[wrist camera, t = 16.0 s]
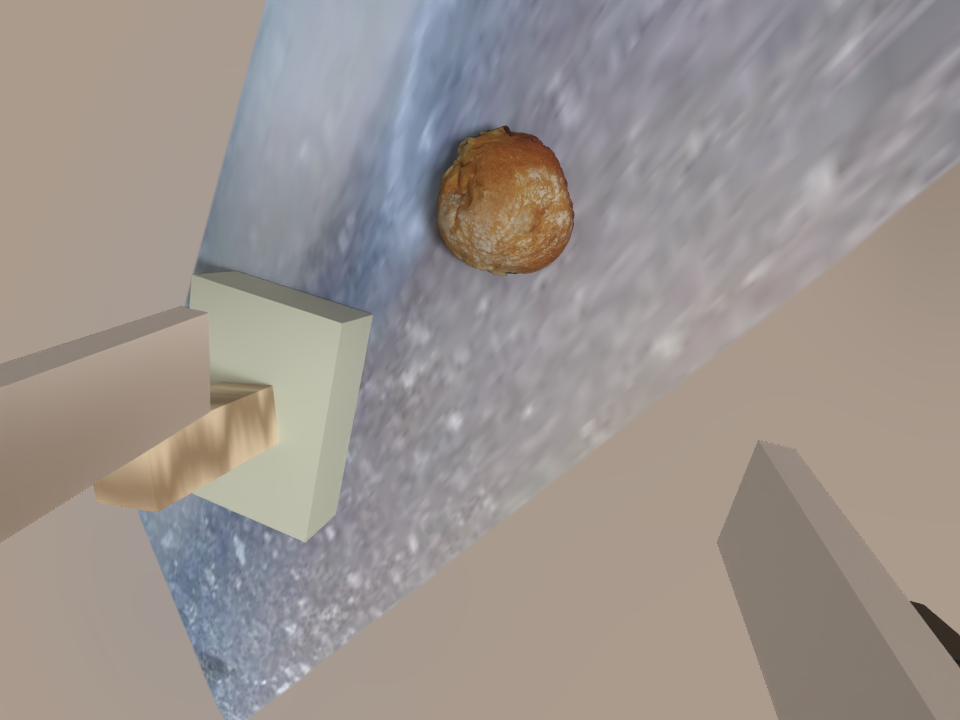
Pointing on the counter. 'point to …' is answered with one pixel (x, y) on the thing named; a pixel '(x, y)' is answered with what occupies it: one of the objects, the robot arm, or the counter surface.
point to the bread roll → (505, 204)
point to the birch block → (197, 450)
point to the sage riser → (286, 394)
